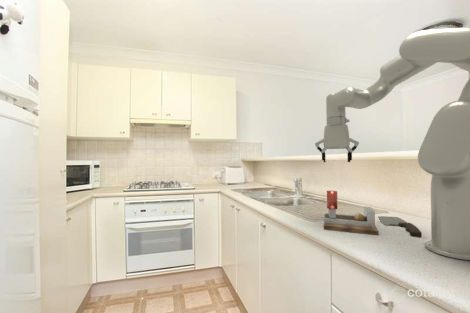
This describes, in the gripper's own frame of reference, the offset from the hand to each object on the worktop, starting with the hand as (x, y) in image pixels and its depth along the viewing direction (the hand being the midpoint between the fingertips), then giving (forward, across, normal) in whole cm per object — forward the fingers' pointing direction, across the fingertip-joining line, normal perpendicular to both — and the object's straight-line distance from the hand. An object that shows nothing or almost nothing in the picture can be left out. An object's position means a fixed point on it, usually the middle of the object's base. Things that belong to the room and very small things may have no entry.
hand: (336, 162), depth 98 cm
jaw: (+24, +2, +5) cm, 25 cm away
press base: (+26, -4, +5) cm, 27 cm away
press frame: (+24, -4, +5) cm, 25 cm away
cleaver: (+26, -23, -4) cm, 35 cm away
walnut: (+22, -8, +5) cm, 24 cm away
